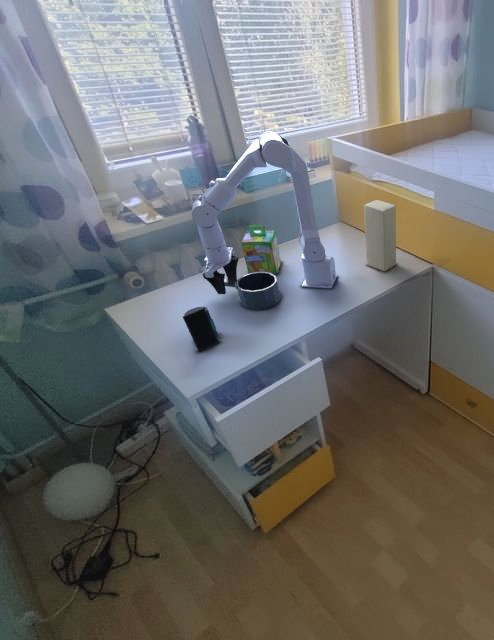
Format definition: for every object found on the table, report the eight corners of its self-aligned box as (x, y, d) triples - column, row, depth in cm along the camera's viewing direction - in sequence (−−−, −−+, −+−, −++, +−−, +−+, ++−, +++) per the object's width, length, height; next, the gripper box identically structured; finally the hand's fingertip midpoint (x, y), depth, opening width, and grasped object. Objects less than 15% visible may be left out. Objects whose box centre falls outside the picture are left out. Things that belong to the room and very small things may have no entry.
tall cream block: (398, 263, 148) (397, 204, 135) (385, 272, 143) (383, 211, 130) (380, 257, 151) (377, 198, 138) (366, 265, 146) (362, 205, 133)
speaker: (222, 345, 110) (208, 310, 104) (198, 352, 108) (182, 318, 102) (218, 331, 116) (204, 298, 110) (195, 338, 114) (180, 304, 107)
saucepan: (286, 292, 131) (283, 274, 127) (269, 312, 123) (265, 293, 119) (226, 284, 133) (221, 266, 129) (206, 302, 125) (199, 284, 121)
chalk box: (248, 275, 138) (236, 232, 128) (254, 262, 145) (243, 220, 135) (278, 275, 139) (268, 232, 129) (282, 261, 146) (273, 220, 136)
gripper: (212, 232, 124) (224, 273, 133) (187, 255, 113) (202, 299, 121) (236, 234, 124) (247, 275, 132) (213, 257, 113) (227, 300, 121)
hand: (227, 286), depth 127 cm, fingers open, 7 cm apart
